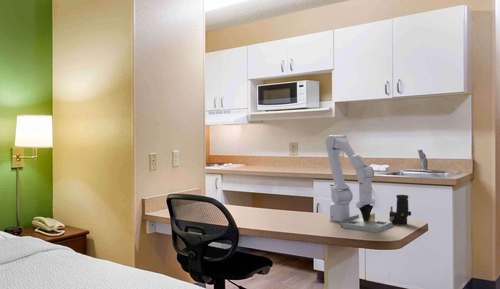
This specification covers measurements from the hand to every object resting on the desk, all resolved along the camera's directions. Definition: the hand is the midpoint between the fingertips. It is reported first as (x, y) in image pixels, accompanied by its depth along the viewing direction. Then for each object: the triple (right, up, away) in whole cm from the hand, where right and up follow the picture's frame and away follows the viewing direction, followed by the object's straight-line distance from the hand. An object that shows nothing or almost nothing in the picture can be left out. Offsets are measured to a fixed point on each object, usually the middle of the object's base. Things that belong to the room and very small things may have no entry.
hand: (366, 220), depth 195 cm
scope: (+18, -3, +5) cm, 19 cm away
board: (+1, -3, +1) cm, 3 cm away
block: (+2, -1, +3) cm, 4 cm away
